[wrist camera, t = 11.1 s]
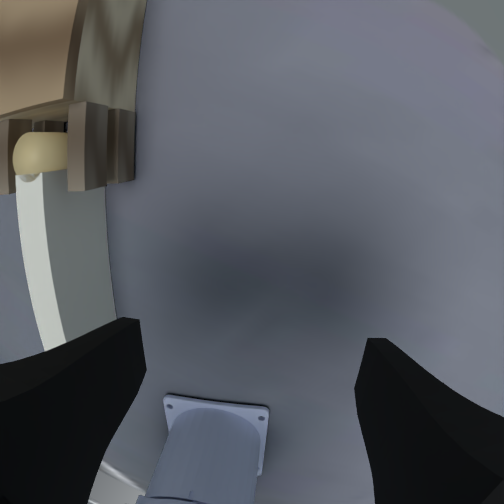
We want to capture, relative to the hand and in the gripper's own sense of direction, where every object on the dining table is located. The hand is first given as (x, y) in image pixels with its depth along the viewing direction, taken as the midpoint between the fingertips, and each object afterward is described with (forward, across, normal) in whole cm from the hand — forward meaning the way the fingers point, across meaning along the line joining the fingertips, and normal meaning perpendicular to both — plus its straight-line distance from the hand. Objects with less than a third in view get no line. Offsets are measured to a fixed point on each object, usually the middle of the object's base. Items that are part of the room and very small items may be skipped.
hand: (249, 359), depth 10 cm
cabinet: (+9, +16, -11) cm, 21 cm away
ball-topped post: (+9, +11, +2) cm, 15 cm away
